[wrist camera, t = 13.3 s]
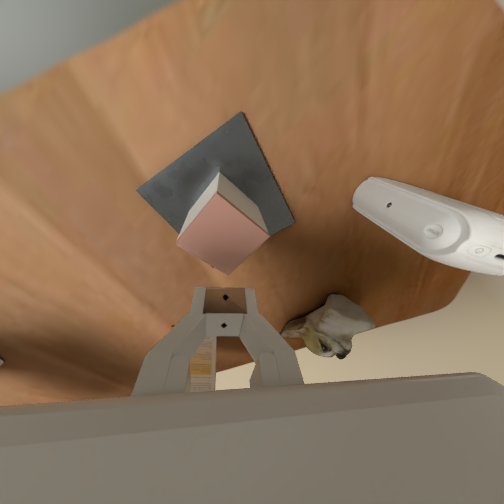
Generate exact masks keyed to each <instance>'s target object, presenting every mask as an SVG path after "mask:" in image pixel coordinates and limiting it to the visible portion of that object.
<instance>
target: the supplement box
mask: <svg viewBox="0 0 504 504" xmlns="http://www.w3.org/2000/svg"><path fill="white" fill-rule="evenodd" d="M173 327H174V326H171V327H170V330H171V329H172V328H173ZM170 330H169V331H170ZM216 344H217V336H215V337H205V339H204V341H203V342H202V344H201V345H200V347H199V348H198V350H197V351H196V352H195V354H194V355H193V357H192V358H191V360H190V373H191V390H190V392H202V391H215V378H216Z"/></svg>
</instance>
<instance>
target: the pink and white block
mask: <svg viewBox="0 0 504 504" xmlns="http://www.w3.org/2000/svg"><path fill="white" fill-rule="evenodd" d="M269 237H270V236H269V233H268V231H267V228H266V226H265V223H264V221H263V218H262V215H261V213H260V210H259V208H258V206H257V205H256V204H255V203H254V202H253V201H252V200H251V199H249V198H248V197H247V196H246V195H245V194H244V193H243V192H242V191H240V190H239V189H238V188H237V187H236V186H235V185H234V184H233V183H231V182H230V181H229V180H228V179H227V178H226V177H225V176H224V175H222V174H221V173H220V172H219V173H218V174H217V176H216V177H215V178H214V180H213V181H212V182H211V183H210V185H209V186H208V187H207V189H206V190H205V191H204V192H203V194H202V195H201V196H200V198H199V199H198V200H197V201H196V203H195V204H194V205H193V207H192V208H191V209H190V211H189V213H188V215H187V217H186V220H185V222H184V224H183V227H182V229H181V231H180V234H179V236H178V238H177V241H176V243H175V245H176V246H178V247H180V248H181V249H183V250H185V251H187V252H188V253H190V254H192V255H194V256H195V257H197V258H199V259H201V260H202V261H204V262H206V263H208V264H209V265H211V266H213V267H215V268H216V269H218V270H220V271H222V272H223V273H225V274H227V275H229V274H230V273H231V272H232V271H233V270H235V269H236V268H237V267H238V266H239V265H240V264H241V263H242V262H243V261H244V260H245V259H246V258H247V257H248V256H250V255H251V254H252V253H253V252H254V251H255V250H256V249H257V248H258V247H259V246H260V245H261V244H262V243H263V242H265V241H266V240H267V239H268V238H269Z"/></svg>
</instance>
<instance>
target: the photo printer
mask: <svg viewBox="0 0 504 504" xmlns="http://www.w3.org/2000/svg"><path fill="white" fill-rule="evenodd" d="M352 202H353V206H352V207H353V208H354V209H355V210H356V211H358V212H359V213H361V214H362V215H363V216H365V217H366V218H368V219H369V220H371V221H372V222H374V223H375V224H377V225H378V226H380V227H381V228H383V229H384V230H386V231H387V232H388V233H390V234H391V235H393V236H394V237H396V238H397V239H399V240H400V241H402V242H403V243H405V244H406V245H408V246H409V247H411V248H412V249H414V250H415V251H417V252H418V253H420V254H422V255H424V256H425V257H427V258H430V259H432V260H434V261H437V262H440V263H443V264H446V265H449V266H452V267H456V268H460V269H464V270H468V271H473V272H478V273H484V274H491V275H502V276H504V215H501V214H498V213H495V212H492V211H489V210H486V209H482V208H479V207H476V206H473V205H470V204H467V203H464V202H461V201H458V200H455V199H452V198H449V197H446V196H443V195H440V194H437V193H434V192H431V191H428V190H425V189H422V188H419V187H416V186H412V185H409V184H406V183H402V182H398V181H395V180H390V179H386V178H381V177H369V178H368V180H365V181H363V182H362V183H361V184H360V185H359V186H358V188H357V189H356V191H355V192H354V195H353V199H352Z"/></svg>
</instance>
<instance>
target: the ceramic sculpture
mask: <svg viewBox="0 0 504 504" xmlns="http://www.w3.org/2000/svg"><path fill="white" fill-rule="evenodd" d="M375 327H376V325H375V323H374V322H373V321H372V320H371V318H370V317H369V316H368V314H367V313H366V312H365V311H364V310H363V309H362V308H361V307H360V306H359V305H357V304H355V303H353V302H352V301H350V300H349V299H348V298H346V297H345V296H343V295H334V294H331V295H329V296H328V298H327V301H326V304H325V305H324V306H322V307H321V308H319V309H317V310H315V311H313V312H312V313H310V314H308V315H307V316H306V317H303V318H299V319H295V320H292V321H290V322H289V323H287V325H286V326H285V327H284V328H283V329H282V330H281V332H280V335H281V336H282V338H285V337H287V338H298V337H301V338H303V340H304V342H305V344H306V346H307V348H308V349H309V350H310V351H311V352H313V353H314V354H316V355H319V356H323V357H333V356H334V355H336V356H337V357H338V358H339V359H343V358H345V357H346V355H348V354H349V353H350V351H351V348H352V343H351V339H352V337H353V336H354V335H355V334H357V333H359V332H362V331H367V330H369V329H371V328H375Z"/></svg>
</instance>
